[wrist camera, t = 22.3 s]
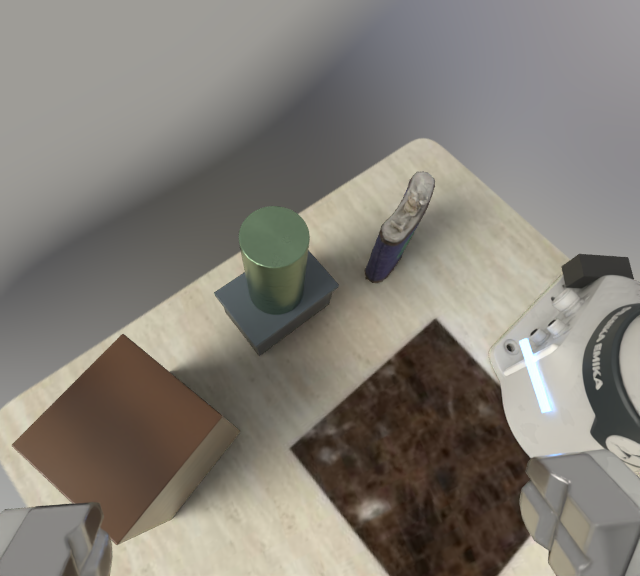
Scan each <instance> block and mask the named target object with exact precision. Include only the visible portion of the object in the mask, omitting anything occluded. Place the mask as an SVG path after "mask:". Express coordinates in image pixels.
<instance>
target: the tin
mask: <svg viewBox="0 0 640 576" xmlns="http://www.w3.org/2000/svg"><path fill="white" fill-rule="evenodd" d="M309 239H310V236H309V230H308V227H307V225H306V223H305V222H304V220H303V219H302V218H301V217H300V216H299V215H298V214H297V213H295V212H293V211H292V210H290V209H287V208H284V207H278V206H270V207H264V208H261V209H258V210H256V211H254V212H253V213H251V214H250V215H249V216H248V217H247V218H246V219H245V220H244V222H243V223H242V225H241V228H240V231H239V244H240V249H241V254H242V259H243V264H244V270H245V275H246V280H247V285H248V290H249V295H250V298H251V300H252V302H253V304H254V305H255V306H256V307H257V308H258V309H259V310H261V311H263V312H265V313H268V314H272V315H280V314H284V313H287V312H289V311H291V310H293V309H294V308H295V307H296V306H297V305H298V304H299V303H300V301H301V299H302V296H303V291H304V283H305V274H306V265H307V257H308V248H309Z"/></svg>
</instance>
